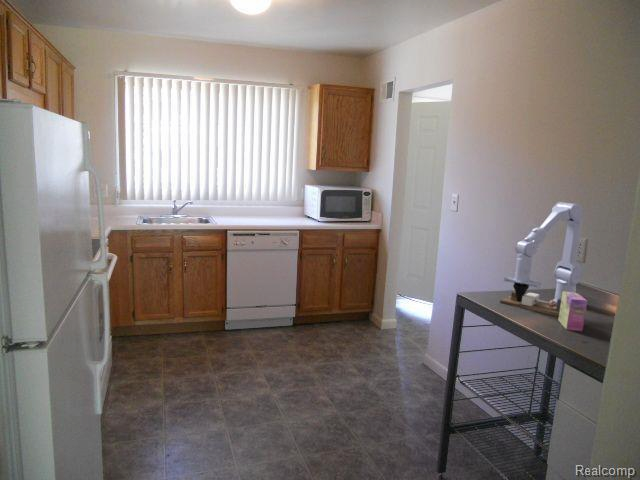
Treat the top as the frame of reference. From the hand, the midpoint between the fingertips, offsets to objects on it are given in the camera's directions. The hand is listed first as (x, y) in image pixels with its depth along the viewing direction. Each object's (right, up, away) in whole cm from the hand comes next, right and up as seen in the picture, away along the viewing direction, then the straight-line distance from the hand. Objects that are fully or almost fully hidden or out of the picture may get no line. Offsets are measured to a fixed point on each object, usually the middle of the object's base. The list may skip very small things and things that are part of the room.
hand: (519, 301), depth 200 cm
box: (+9, -7, -23) cm, 25 cm away
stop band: (+11, -2, -5) cm, 12 cm away
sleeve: (+5, -1, 0) cm, 5 cm away
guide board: (+6, -3, -1) cm, 7 cm away
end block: (+14, -4, -8) cm, 16 cm away
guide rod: (+7, 0, -2) cm, 7 cm away
